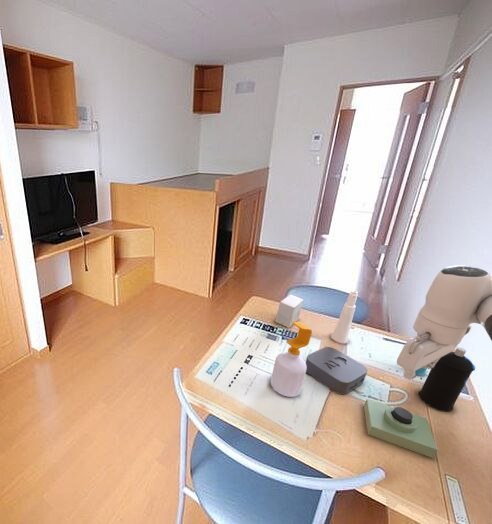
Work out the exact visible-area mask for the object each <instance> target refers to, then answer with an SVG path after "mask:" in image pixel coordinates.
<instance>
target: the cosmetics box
mask: <svg viewBox="0 0 492 524" xmlns="http://www.w3.org/2000/svg"><path fill="white" fill-rule="evenodd" d="M303 304H304V299H303V298H300V297H298V296H295V295H293V294H289V295H287V296H286V297H285V298H283V299H282V300H280V302H279V304H278V309H277V312H276V317H275V320H274V322H275V323H277V324H280V325H282V326H284V327H286V328H288V329H289V328H290V327H291V326H293V325H294V324H293V323H292V322H298V320H299V318H300V315H301V311H302V307H303Z"/></svg>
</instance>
